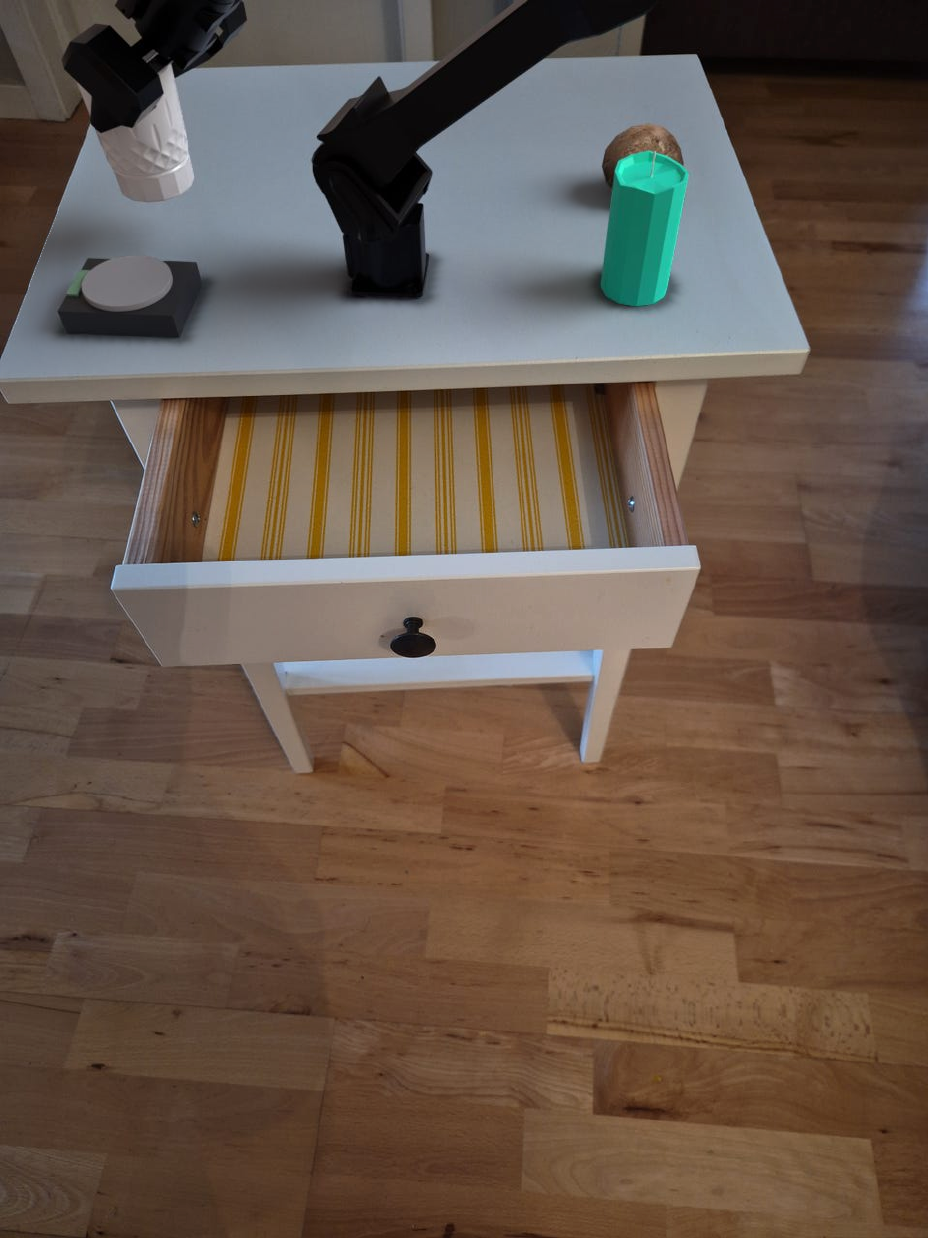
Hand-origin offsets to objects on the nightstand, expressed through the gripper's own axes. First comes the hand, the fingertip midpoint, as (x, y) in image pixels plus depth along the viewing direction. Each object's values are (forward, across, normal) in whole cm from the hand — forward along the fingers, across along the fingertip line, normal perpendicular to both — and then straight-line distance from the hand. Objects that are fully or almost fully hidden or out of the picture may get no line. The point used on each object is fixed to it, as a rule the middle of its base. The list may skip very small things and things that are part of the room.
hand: (121, 106), depth 78 cm
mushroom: (-21, -21, +39) cm, 49 cm away
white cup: (+4, 0, +6) cm, 7 cm away
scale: (+6, +11, +11) cm, 17 cm away
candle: (-23, -5, +41) cm, 47 cm away
